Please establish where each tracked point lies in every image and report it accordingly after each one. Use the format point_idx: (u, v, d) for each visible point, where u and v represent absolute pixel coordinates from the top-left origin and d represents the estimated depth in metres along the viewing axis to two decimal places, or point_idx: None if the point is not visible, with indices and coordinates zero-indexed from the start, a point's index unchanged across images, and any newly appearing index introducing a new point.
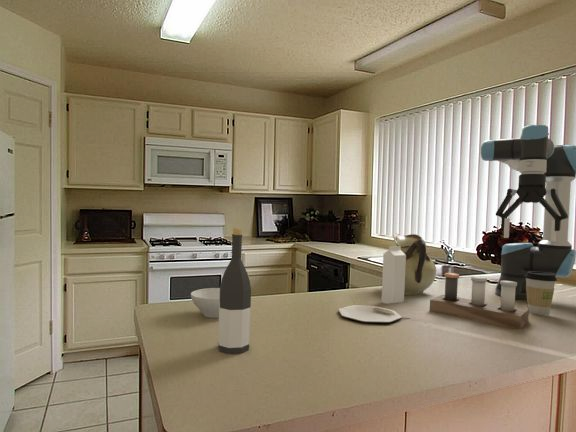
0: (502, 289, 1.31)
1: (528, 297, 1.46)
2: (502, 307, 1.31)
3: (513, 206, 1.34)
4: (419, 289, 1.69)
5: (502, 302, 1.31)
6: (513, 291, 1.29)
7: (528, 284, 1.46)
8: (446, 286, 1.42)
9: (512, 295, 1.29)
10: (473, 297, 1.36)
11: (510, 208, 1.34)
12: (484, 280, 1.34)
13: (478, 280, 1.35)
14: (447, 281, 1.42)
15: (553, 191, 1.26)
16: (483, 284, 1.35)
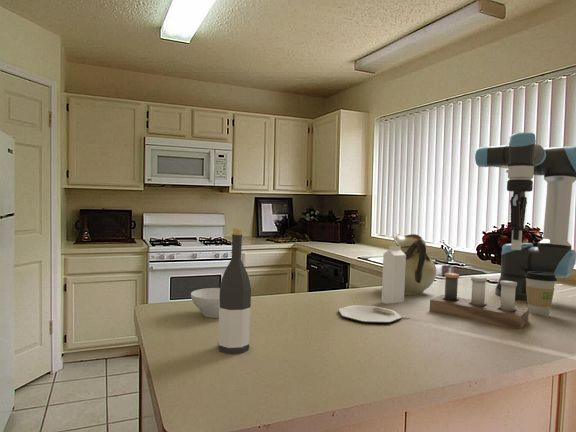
0: (502, 289, 1.31)
1: (528, 297, 1.46)
2: (502, 307, 1.31)
3: None
4: (419, 289, 1.69)
5: (502, 302, 1.31)
6: (513, 291, 1.29)
7: (528, 284, 1.46)
8: (446, 286, 1.42)
9: (512, 295, 1.29)
10: (473, 297, 1.36)
11: None
12: (484, 280, 1.34)
13: (478, 280, 1.35)
14: (447, 281, 1.42)
15: None
16: (483, 284, 1.35)
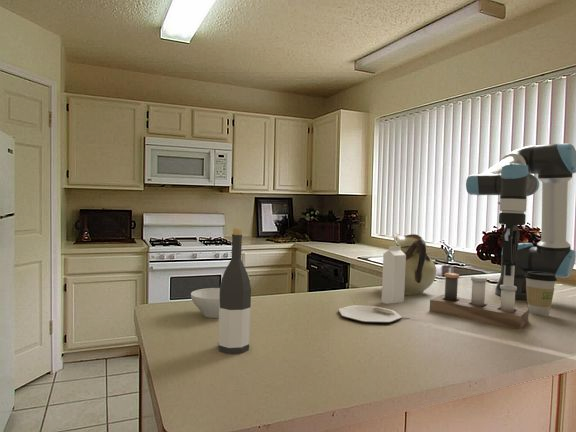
0: (502, 293, 1.31)
1: (528, 297, 1.46)
2: None
3: None
4: (419, 289, 1.69)
5: (502, 306, 1.31)
6: (513, 295, 1.29)
7: (528, 284, 1.46)
8: (446, 286, 1.42)
9: (512, 299, 1.29)
10: (473, 297, 1.36)
11: None
12: (484, 280, 1.34)
13: (478, 280, 1.35)
14: (447, 281, 1.42)
15: (502, 237, 1.27)
16: (483, 284, 1.35)
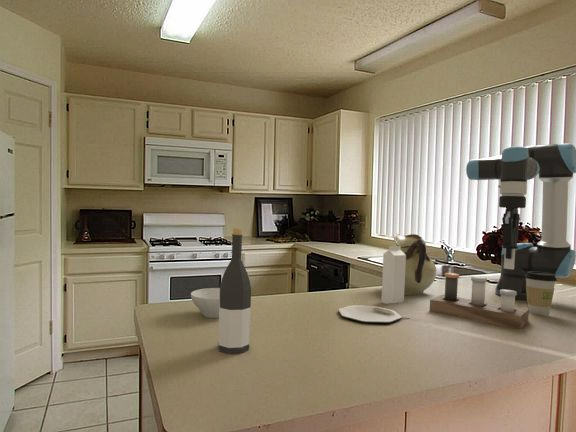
0: (502, 298, 1.31)
1: (528, 297, 1.46)
2: None
3: None
4: (419, 289, 1.69)
5: None
6: (513, 300, 1.29)
7: (528, 284, 1.46)
8: (446, 286, 1.42)
9: (512, 304, 1.29)
10: (473, 297, 1.36)
11: None
12: (484, 280, 1.34)
13: (478, 280, 1.35)
14: (447, 281, 1.42)
15: None
16: (483, 284, 1.35)
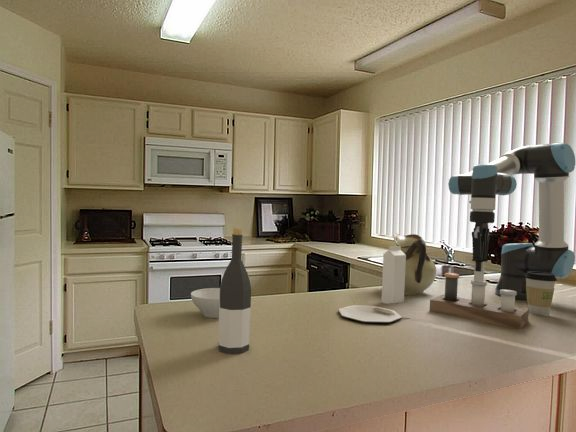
0: (502, 298, 1.31)
1: (528, 297, 1.46)
2: None
3: None
4: (419, 289, 1.69)
5: None
6: (513, 300, 1.29)
7: (528, 284, 1.46)
8: (446, 286, 1.42)
9: (512, 304, 1.29)
10: (473, 301, 1.36)
11: None
12: (484, 284, 1.35)
13: (478, 284, 1.35)
14: (447, 281, 1.42)
15: None
16: (483, 288, 1.35)
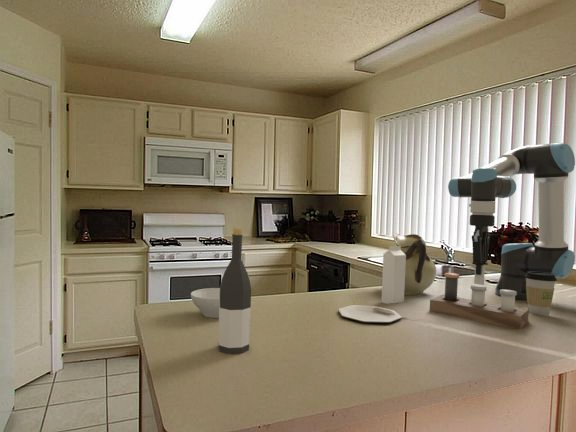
0: (502, 298, 1.31)
1: (528, 297, 1.46)
2: None
3: None
4: (419, 289, 1.69)
5: None
6: (513, 300, 1.29)
7: (528, 284, 1.46)
8: (446, 286, 1.42)
9: (512, 304, 1.29)
10: None
11: None
12: (484, 289, 1.35)
13: (478, 289, 1.35)
14: (447, 281, 1.42)
15: None
16: (483, 293, 1.35)
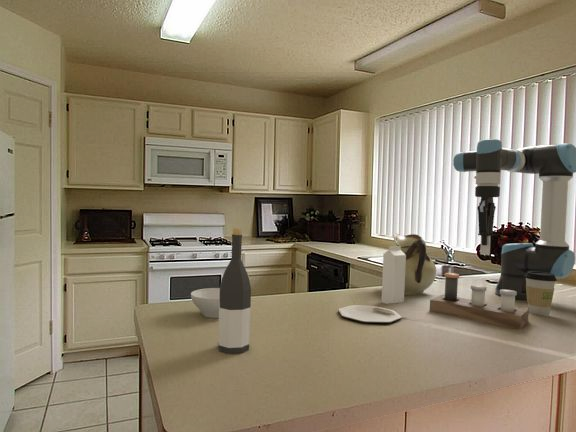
0: (502, 298, 1.31)
1: (528, 297, 1.46)
2: None
3: None
4: (419, 289, 1.69)
5: None
6: (513, 300, 1.29)
7: (528, 284, 1.46)
8: (446, 286, 1.42)
9: (512, 304, 1.29)
10: None
11: None
12: (484, 289, 1.35)
13: (478, 289, 1.35)
14: (447, 281, 1.42)
15: None
16: (483, 293, 1.35)
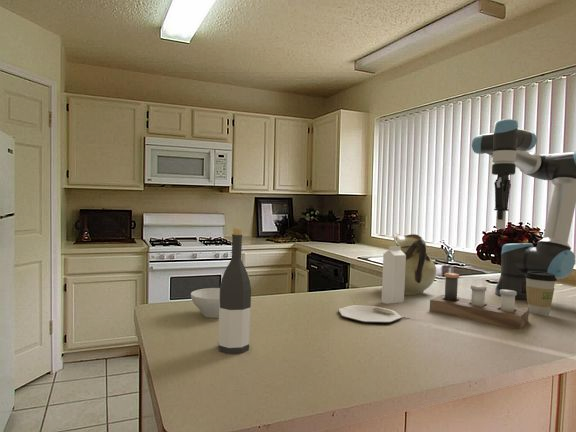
0: (502, 298, 1.31)
1: (528, 297, 1.46)
2: None
3: None
4: (419, 289, 1.69)
5: None
6: (513, 300, 1.29)
7: (528, 284, 1.46)
8: (446, 286, 1.42)
9: (512, 304, 1.29)
10: None
11: None
12: (484, 289, 1.35)
13: (478, 289, 1.35)
14: (447, 281, 1.42)
15: None
16: (483, 293, 1.35)
